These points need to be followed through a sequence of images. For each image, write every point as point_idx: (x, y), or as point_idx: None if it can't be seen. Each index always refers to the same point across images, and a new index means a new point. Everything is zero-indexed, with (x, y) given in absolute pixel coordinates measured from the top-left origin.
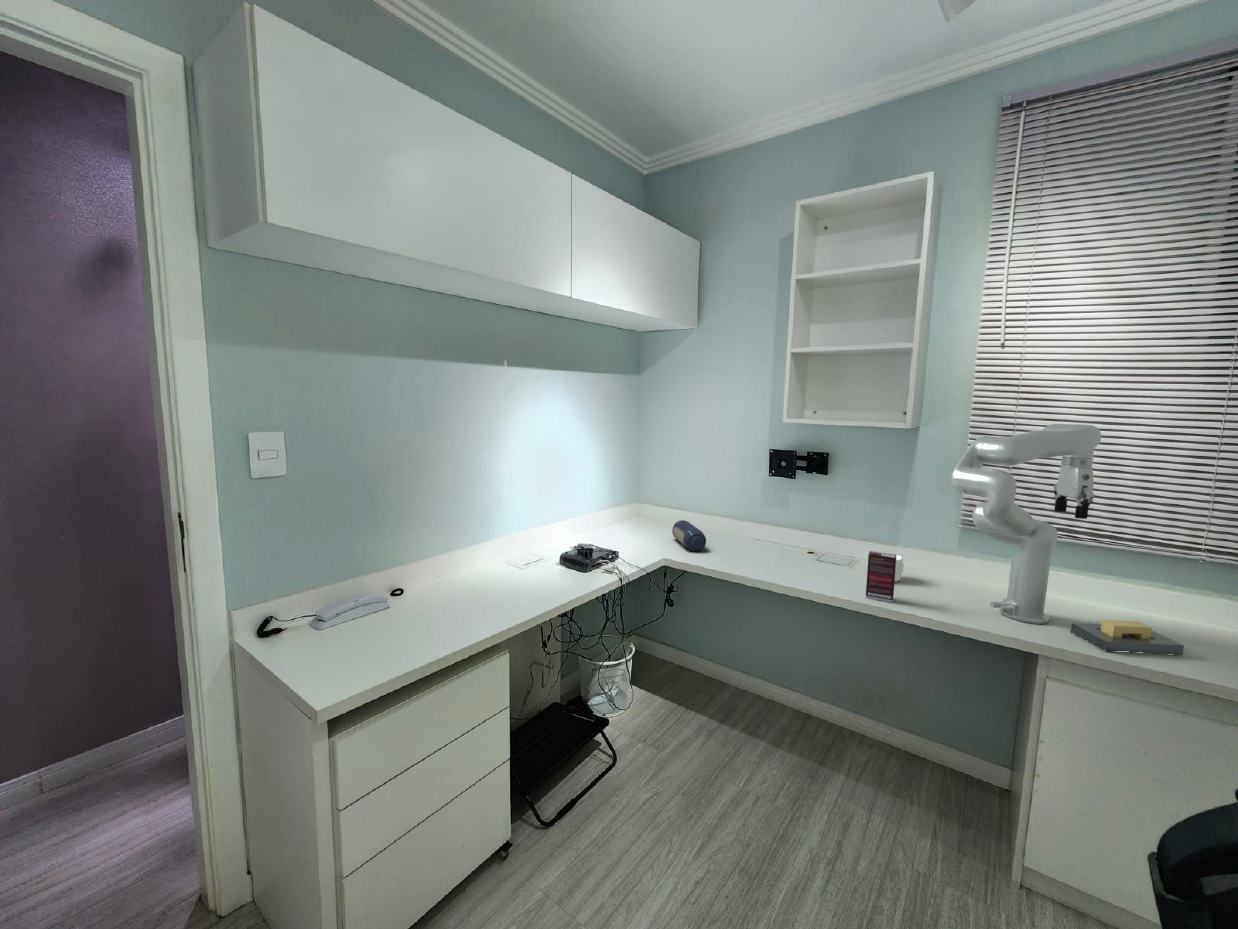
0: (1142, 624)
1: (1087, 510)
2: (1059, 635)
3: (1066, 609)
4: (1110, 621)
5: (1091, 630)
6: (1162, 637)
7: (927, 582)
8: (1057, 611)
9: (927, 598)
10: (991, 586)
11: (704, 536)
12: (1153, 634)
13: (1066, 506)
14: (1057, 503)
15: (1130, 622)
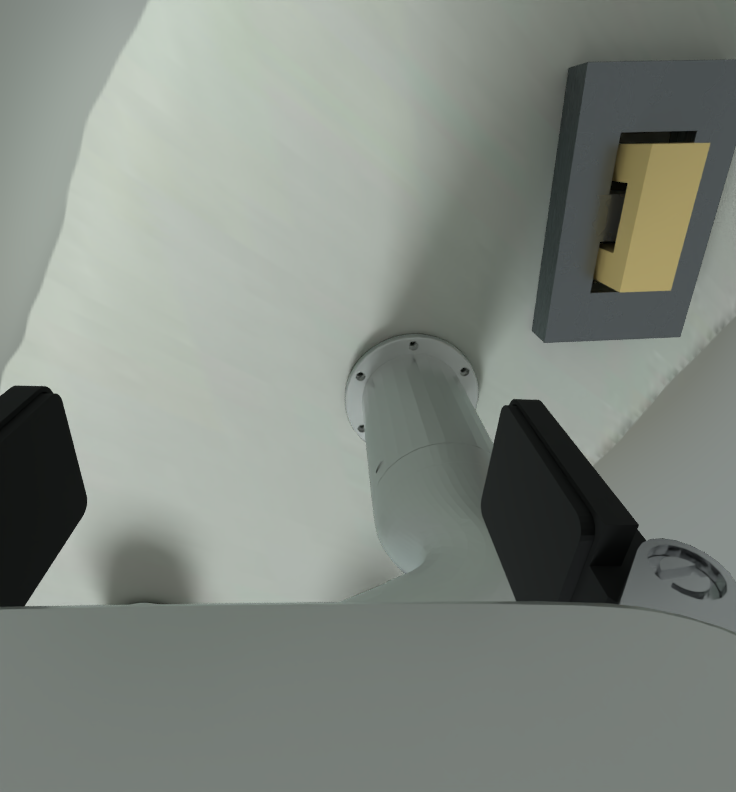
0: (678, 158)
1: (589, 476)
2: (550, 377)
3: (313, 184)
4: (636, 272)
5: (605, 321)
6: (688, 83)
7: (139, 534)
8: (344, 242)
9: (304, 580)
10: (93, 338)
11: None
12: (660, 97)
13: (7, 442)
14: (17, 603)
15: (654, 194)
